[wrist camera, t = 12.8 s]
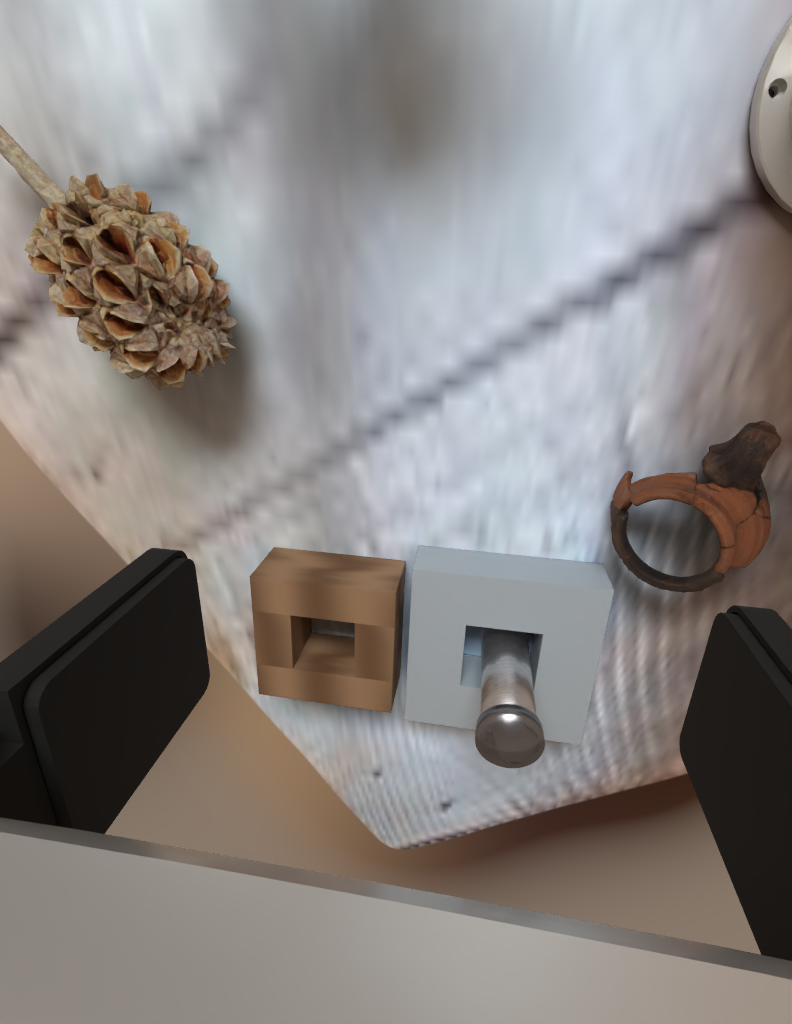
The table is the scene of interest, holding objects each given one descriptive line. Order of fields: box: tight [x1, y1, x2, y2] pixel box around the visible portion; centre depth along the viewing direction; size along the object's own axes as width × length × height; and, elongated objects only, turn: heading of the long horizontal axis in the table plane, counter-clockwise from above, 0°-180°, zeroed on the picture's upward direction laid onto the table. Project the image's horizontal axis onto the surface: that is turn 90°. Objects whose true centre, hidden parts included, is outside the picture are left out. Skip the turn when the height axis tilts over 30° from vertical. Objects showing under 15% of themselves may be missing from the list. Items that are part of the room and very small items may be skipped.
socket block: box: [404, 545, 614, 745], centre depth 43 cm, size 14×14×4 cm
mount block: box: [250, 547, 406, 713], centre depth 44 cm, size 11×11×5 cm
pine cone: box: [0, 125, 238, 390], centre depth 33 cm, size 22×10×10 cm, turn 47°
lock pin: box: [475, 627, 545, 768], centre depth 39 cm, size 4×4×12 cm
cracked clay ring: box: [611, 421, 781, 592], centre depth 36 cm, size 12×10×8 cm
